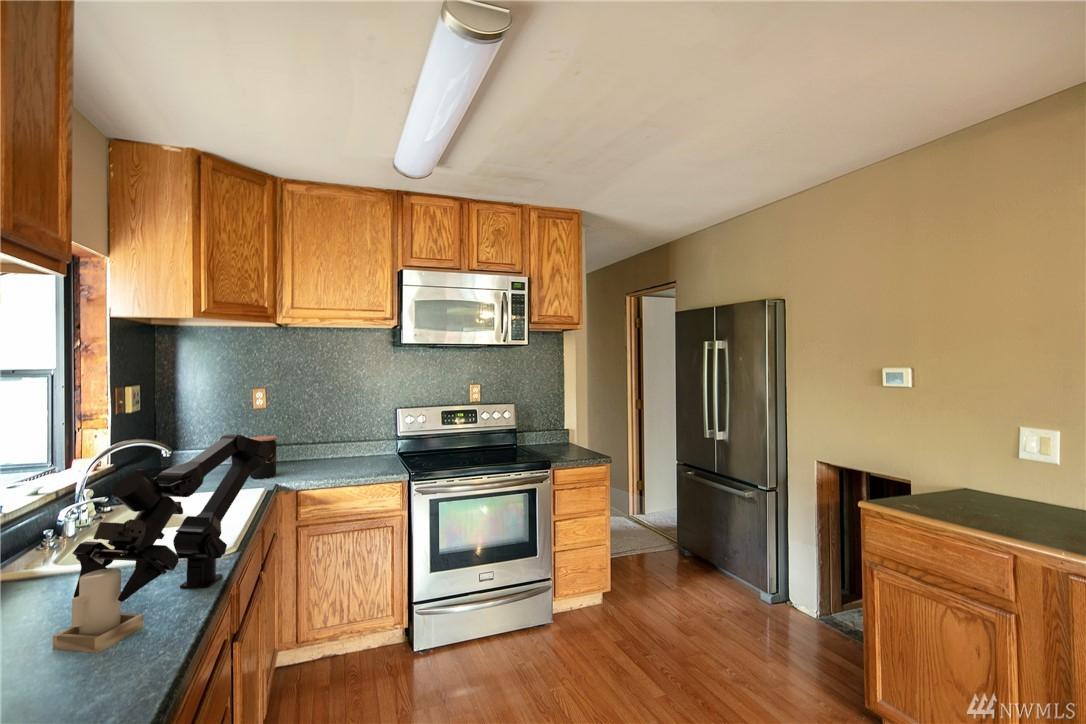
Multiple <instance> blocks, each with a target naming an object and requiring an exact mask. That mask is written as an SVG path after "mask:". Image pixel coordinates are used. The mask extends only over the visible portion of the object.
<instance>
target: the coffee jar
mask: <svg viewBox="0 0 1086 724" xmlns="http://www.w3.org/2000/svg"><path fill="white" fill-rule="evenodd" d="M250 439H254V440H261V441H267V442H268V443H269V445H270V446H271V450H272V451H271V455H270V457H269V458H268V460H267V461H266V462H265V463H264V465H263V466H262V467H260V468H259V469H257V470H255V471H254V472H252V473H251V474H250V475H249V477H250V478H251V479H252V478H253V479H252V480H265V479H264V478H267V479H271V478H270V477H272V478H275V476H276V474H277V441H276V440H277V436H275V435H263V436H262V435H259V436H252V437H250Z"/></svg>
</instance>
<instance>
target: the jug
mask: <svg viewBox="0 0 1086 724" xmlns="http://www.w3.org/2000/svg"><path fill="white" fill-rule="evenodd" d="M107 568H108V567H107ZM78 579H79V596H77V597H75V598H74V597H73V598H71V626H72V627H79V635H88V636H100V635H102V634H104V633H106V632H108V631H110V630H111V629H113V628H115V627H117V626H119V625H120V621H121V613H122V611H121V607H122V604H121V603H122V602H120V601H119V600H118V598H119V596H120V594H121V592H122V569H120V568H116V567H110V568H108V569H101V570H96V571H93V572H89V573H87V574H84V575H83V576H81V577H80V578H79V577H78Z"/></svg>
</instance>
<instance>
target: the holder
mask: <svg viewBox="0 0 1086 724" xmlns="http://www.w3.org/2000/svg"><path fill="white" fill-rule="evenodd" d="M143 628H144V614H143V613H129V612H121V621H120V625H119V626H117V627H115V628H113V629H111V630H110V631H108V632H106V633H104V634H102V635H100V636H88V635H79V627H72V625H71V626H70V627H68V628H65V629H63V630H61V631H59V632H57V633H55V634H54V635H52V650H57V651H70V652H71V651H72V652H84V653H96V654H99V653H101V652H103V651H104V650H106V649H108V648H110V647H112V646H113V645H114V644H117V643H118V642H119V641H122V640H123V639H125V638H126V637H128V636H131V635H132V634H134V633H135V632H137V631H138V630H141V629H143Z"/></svg>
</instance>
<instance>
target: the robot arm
mask: <svg viewBox="0 0 1086 724" xmlns="http://www.w3.org/2000/svg"><path fill="white" fill-rule="evenodd" d="M250 438H251V437H250ZM250 438H249V437H247V436H244V435H242V434H228V433H227V434H224V435H222V436H221V437H220V439H219V440H218V441H216V442H215V443H212V444H211V445H210V446H209V447H207V448H206V449H204V450H203V451H202V452H200V453H199V454H198V455H196V456H195V457H193V458H192V459H190V460H188V461H187V462H184V463H181V464H178V465H173V466H171V467H169V468H167V469H164V470H163V471H161V472H159V474H158V475H157V476H156V477H152V476H151V475H150V473H149V472H148V471H147V469H135V470H134V472H133V473H130V474H128V475H126V476H124V477H123V478H121V479H120V480H118V481H116V483H114V484H113V486H112V489H111V495H112V497H114V498H116V500H118V501H119V502H120V503H122V504H123V505H124V506H125V507H127V508H128V509H129V510H130V511H131V512H135V513H137V512H138V513H137V515H135V516H134V519H128V520H126V521H124V523H120V522H109V521H108V522H107V521H105V522H104V521H100V522H99V523H98V526H97V528H96V531H95V534H94V536H93V540H96V541H84V542H80V543H79V544H78V545H77V546H76V547H75V549H74V550H73V551H72V554H73V555H74V556H75V559H76V560H77V561H78V562H79V563H80V571H79V575H78V580H77V583H76V587H75V589H74V593H73V598H75V597H77V596H79V578H80V577H81V576H83V575H84V574H87V573H89V572H93V571H96V570H101V569H108V567H107V566H110V565H111V564H112V563H113V561H129V562H130V561H131V562H135V567H134V571H132V572H133V573H132V574H130V577H129V579H128V580H127V582H126V583H125V585H124V587H123V588H122V589H121V594H120V596H119V598H118V600H119V601H120V602H121V603H123V602H125V601H126V600H127V599H128V598H130V597H132V595H134V594H136V592H138V591H139V590H140V589H142V588H143V587H145V586H146V585H148V584H149V583H150V582H152V581H153V580H155V579H157V578H158V577H160V576H162V575H166V574H167V571H170V572H172V571H174V570H175V568H176V566H177V565H178V564H179V559H180V560H181V559H182V560H183V559H184V560H185V559H186V560H187V561H186V562H187V563H186V581H184V582H183V583H182V584H181V583H180V585H179V588H180V589H185V588H186V589H188V588H189V589H194V588H196V589H197V588H209V587H211V586H212V585H213V584H215V583H216V582H218V581H219V580H220V579H221V578H222V577H223V574H221V573H219V574H218V573H217V559H220V558H222V557H223V555H225V554H226V551H227V549H228V544H227V543H226V542H225V541H223V540H222V539H221V538H220V537H221V534H222V523H221V522H222V521H223V519H224V517H225V515H226V514H227V513H228V511H229V509H230V508H231V506H232V504H233V502H234V501H235V500H236V498H237V496H238V494H239V493H240V491H241V490H242V488H243V487H244V486H245V484H246V482H247V480H248V479H249V477H250V474H251V473H252V472H254V471H255V470H257V469H259V468H260V467H262V466H263V465H264V463H265V462H266V461H267V460H268V458H269V457H270V455H271V451H272V450H271V446H270V445H269V443H268V442H267V441H261V440H254V439H250ZM230 458H231V466H230V468H229V469H228V471H227V472H226V474H225V475H224V477H223V478H222V480H220V483H219V484H218V486H217V487H216V489H215V490H214V491H213V493H212V494H211V496H210V498H209V500H208V501H207V502H206V504H205V506H204V507H203V509H202V510H201V511H200V513H198V514H197V515H196V516H195V515H188V516H186V517H185V518H184V519H183V521H182V523H181V524H180V526H179V527H178V528H177V529H176V530H175V533H176V534H175V536H174V537H173V544H172V545H173V547H174V550H175V551H173V550H172V549H171V548H170V547H169V546H167V545H166V544H164V545H163V544H162V545H160V544H155V542H156V541H157V540H163V538H164V537H165V534H164V533H163V531H164V529H165V527H166V526H167V524H168V523H169V521H170V520H171V518H172V517H173V515H183V513H184V508H183V506H182V501H175V500H174V499H173V498H189V497H190V496H193V494H194V493H196V491H198V490H199V488H200V487H201V486H202V485H203V484H204V479H205V477H206V476H207V475H208V474H210V473H211V472H212V471H214V470H215V469H216V468H217V467H219V466H220V465H222V464H223V463H224V462H225V461H226V460H228V459H230ZM172 497H173V498H172ZM98 540H104V541H107V544H108V545H109V546H111V547H114V548H110V547H108V546H107V545H106V544H104V543H103V542H101V541H98Z"/></svg>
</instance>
